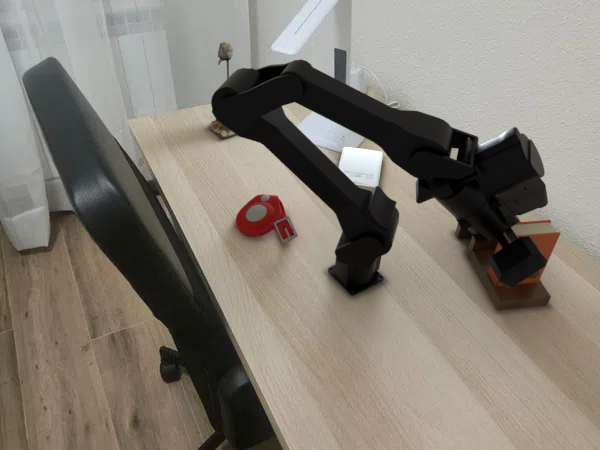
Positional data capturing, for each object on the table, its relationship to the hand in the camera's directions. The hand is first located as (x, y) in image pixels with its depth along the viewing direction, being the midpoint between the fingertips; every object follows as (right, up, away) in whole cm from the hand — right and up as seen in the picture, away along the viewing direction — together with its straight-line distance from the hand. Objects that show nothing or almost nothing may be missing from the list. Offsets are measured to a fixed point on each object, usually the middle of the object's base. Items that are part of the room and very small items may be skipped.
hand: (522, 253), depth 81 cm
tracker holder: (-38, +3, +14) cm, 41 cm away
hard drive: (-21, +14, +27) cm, 37 cm away
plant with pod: (-47, +25, +39) cm, 66 cm away
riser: (-1, -3, +8) cm, 8 cm away
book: (0, -4, +4) cm, 5 cm away
